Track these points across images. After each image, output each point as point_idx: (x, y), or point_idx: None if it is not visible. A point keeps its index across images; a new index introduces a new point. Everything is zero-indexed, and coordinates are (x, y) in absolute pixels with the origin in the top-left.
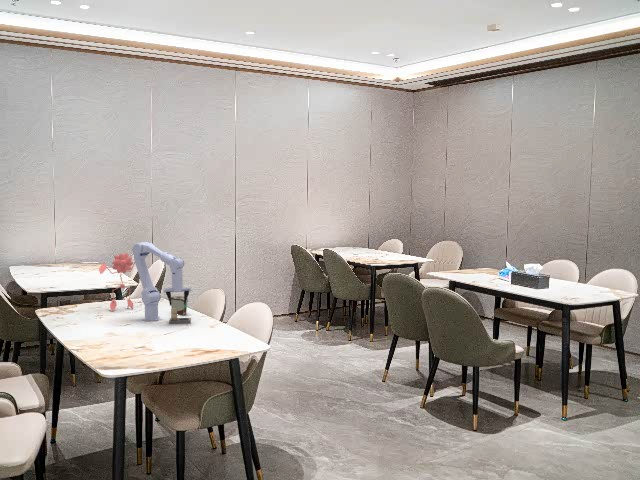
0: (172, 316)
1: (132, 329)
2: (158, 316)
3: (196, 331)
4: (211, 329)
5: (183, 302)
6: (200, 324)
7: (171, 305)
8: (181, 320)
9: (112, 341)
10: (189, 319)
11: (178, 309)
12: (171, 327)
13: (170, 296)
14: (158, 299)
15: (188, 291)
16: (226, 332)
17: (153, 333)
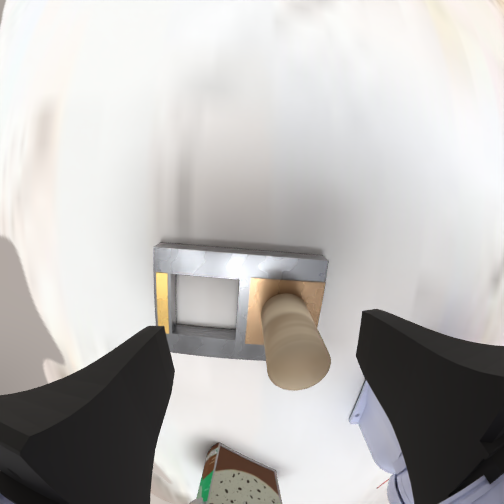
0: (304, 309)
1: (494, 155)
2: (354, 422)
3: (145, 12)
4: (60, 64)
5: (214, 501)
6: (95, 202)
7: (281, 501)
8: (226, 272)
9: (489, 7)
10: (162, 291)
11: (245, 478)
12: (308, 130)
13: (475, 363)
14: (408, 477)
15: (3, 480)
16: (30, 25)
17: (400, 23)
